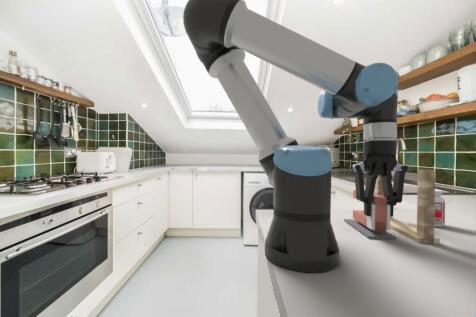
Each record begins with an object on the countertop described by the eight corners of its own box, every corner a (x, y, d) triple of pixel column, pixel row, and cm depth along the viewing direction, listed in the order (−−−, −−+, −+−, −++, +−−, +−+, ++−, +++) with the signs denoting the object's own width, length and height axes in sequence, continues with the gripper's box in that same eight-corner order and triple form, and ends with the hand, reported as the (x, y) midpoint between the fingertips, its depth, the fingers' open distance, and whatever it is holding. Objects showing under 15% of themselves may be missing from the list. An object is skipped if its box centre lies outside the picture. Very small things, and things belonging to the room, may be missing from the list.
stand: (418, 242, 55) (419, 170, 55) (370, 217, 78) (370, 166, 78) (439, 243, 54) (440, 170, 54) (384, 217, 78) (385, 166, 78)
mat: (368, 238, 57) (368, 236, 57) (344, 220, 73) (344, 219, 73) (396, 239, 57) (396, 237, 57) (366, 221, 73) (366, 219, 73)
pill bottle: (428, 221, 74) (429, 188, 74) (450, 227, 68) (450, 191, 68) (414, 222, 73) (414, 188, 73) (434, 228, 67) (434, 191, 67)
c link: (386, 231, 58) (386, 197, 58) (374, 231, 58) (374, 197, 58) (362, 218, 71) (363, 190, 71) (352, 217, 71) (353, 189, 71)
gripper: (402, 141, 62) (400, 225, 62) (342, 141, 63) (341, 223, 64) (422, 139, 55) (420, 234, 55) (354, 139, 56) (352, 231, 56)
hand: (378, 228), depth 59 cm, fingers closed on c link, 3 cm apart
